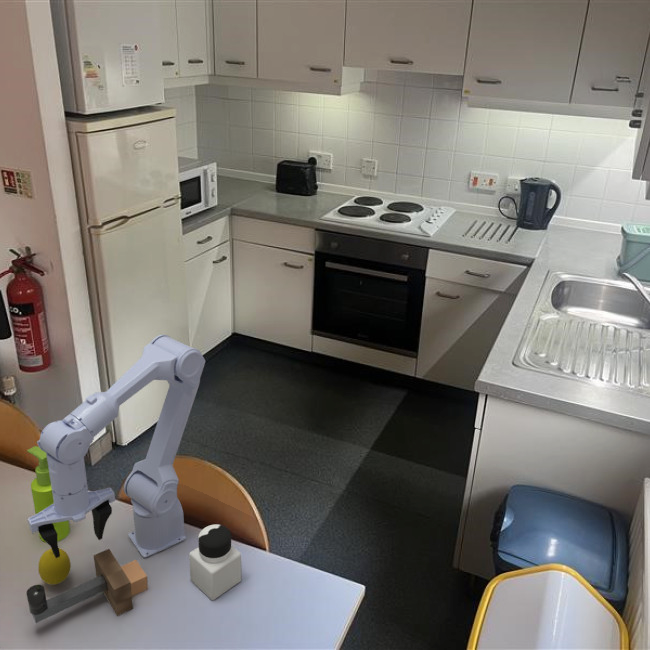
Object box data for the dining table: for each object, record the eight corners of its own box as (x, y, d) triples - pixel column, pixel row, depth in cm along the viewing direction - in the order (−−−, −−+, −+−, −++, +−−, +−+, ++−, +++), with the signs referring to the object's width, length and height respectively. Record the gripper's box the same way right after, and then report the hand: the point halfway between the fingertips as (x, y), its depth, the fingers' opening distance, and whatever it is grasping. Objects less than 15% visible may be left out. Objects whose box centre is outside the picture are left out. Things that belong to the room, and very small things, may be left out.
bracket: (112, 574, 124) (109, 548, 121) (133, 608, 117) (130, 582, 114) (96, 581, 122) (93, 555, 119) (117, 616, 115) (114, 589, 112)
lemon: (62, 596, 118) (57, 564, 115) (35, 590, 119) (29, 558, 116) (78, 574, 123) (73, 542, 120) (52, 568, 124) (47, 537, 121)
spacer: (137, 573, 124) (136, 559, 123) (148, 589, 121) (146, 575, 119) (117, 582, 122) (115, 568, 121) (127, 599, 119) (126, 585, 117)
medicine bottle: (242, 581, 124) (241, 533, 119) (212, 601, 119) (211, 553, 114) (218, 561, 128) (217, 514, 123) (189, 580, 123) (187, 532, 118)
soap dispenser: (56, 516, 137) (44, 439, 129) (75, 531, 134) (64, 452, 125) (30, 531, 133) (16, 452, 124) (50, 547, 129) (37, 466, 121)
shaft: (112, 576, 119) (110, 552, 117) (118, 586, 117) (116, 561, 115) (29, 614, 111) (24, 589, 108) (34, 626, 109) (29, 600, 106)
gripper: (32, 514, 104) (43, 576, 109) (119, 482, 112) (124, 541, 118) (20, 491, 109) (31, 551, 114) (104, 461, 117) (110, 519, 123)
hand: (77, 544), depth 116 cm, fingers open, 7 cm apart
